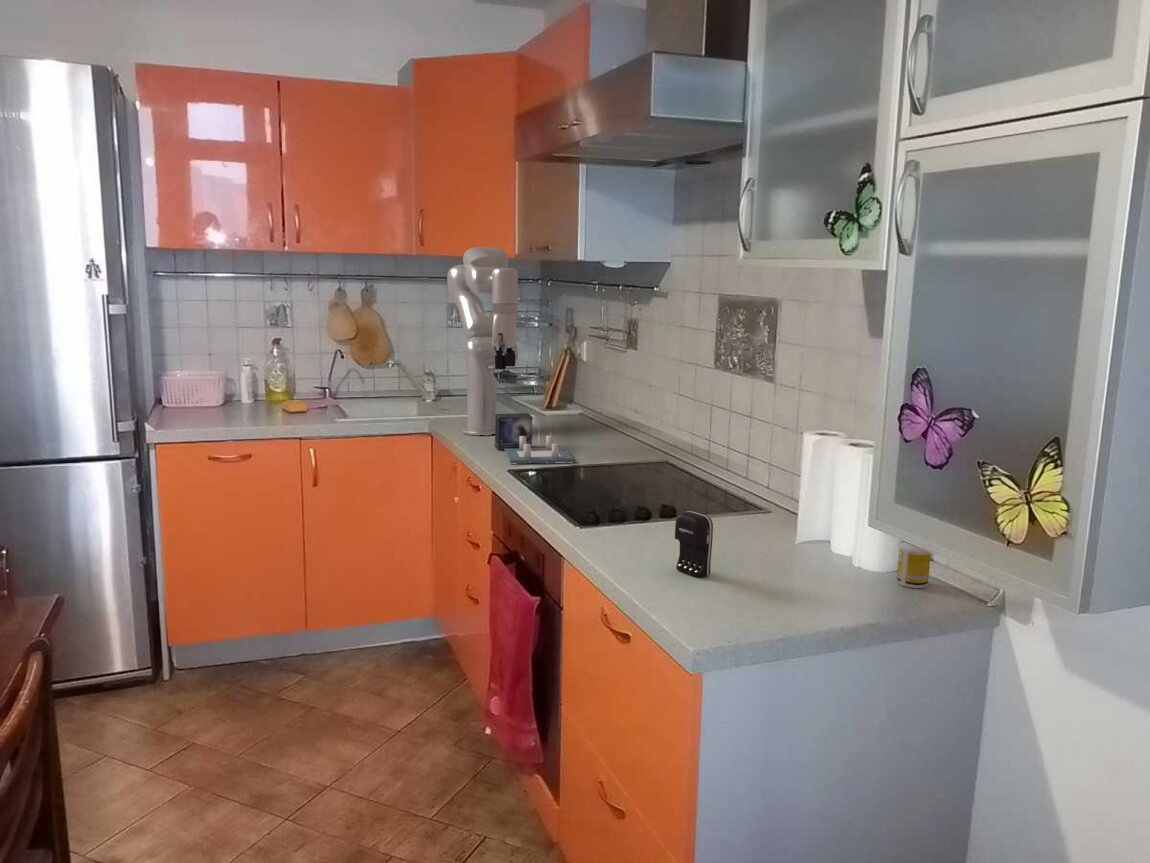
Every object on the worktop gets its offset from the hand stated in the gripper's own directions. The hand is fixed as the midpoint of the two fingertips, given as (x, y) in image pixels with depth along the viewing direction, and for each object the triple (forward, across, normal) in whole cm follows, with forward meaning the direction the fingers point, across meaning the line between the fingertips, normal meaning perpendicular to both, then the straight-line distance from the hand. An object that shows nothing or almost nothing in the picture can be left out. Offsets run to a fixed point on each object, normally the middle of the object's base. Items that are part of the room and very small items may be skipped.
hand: (505, 367), depth 272 cm
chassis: (+25, +9, +13) cm, 30 cm away
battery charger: (+29, +97, +65) cm, 120 cm away
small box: (+25, -2, +2) cm, 25 cm away
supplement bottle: (+30, +91, +105) cm, 142 cm away
